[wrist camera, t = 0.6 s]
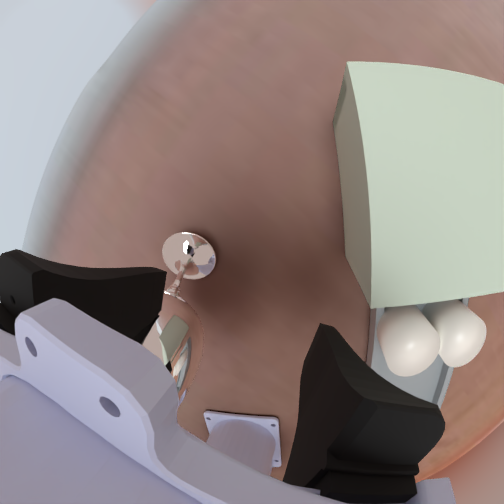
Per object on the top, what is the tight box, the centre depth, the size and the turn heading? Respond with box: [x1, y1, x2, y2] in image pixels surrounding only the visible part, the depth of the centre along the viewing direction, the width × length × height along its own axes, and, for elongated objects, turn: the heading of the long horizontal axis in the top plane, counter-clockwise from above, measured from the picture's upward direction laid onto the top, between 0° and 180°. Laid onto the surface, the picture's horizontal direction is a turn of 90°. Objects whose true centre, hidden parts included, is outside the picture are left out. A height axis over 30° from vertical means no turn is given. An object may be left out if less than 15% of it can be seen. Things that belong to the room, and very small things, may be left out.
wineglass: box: [132, 232, 216, 407], centre depth 16 cm, size 6×6×12 cm
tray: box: [366, 297, 486, 409], centre depth 17 cm, size 15×8×6 cm, turn 6°
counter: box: [333, 62, 504, 309], centre depth 13 cm, size 10×12×10 cm
